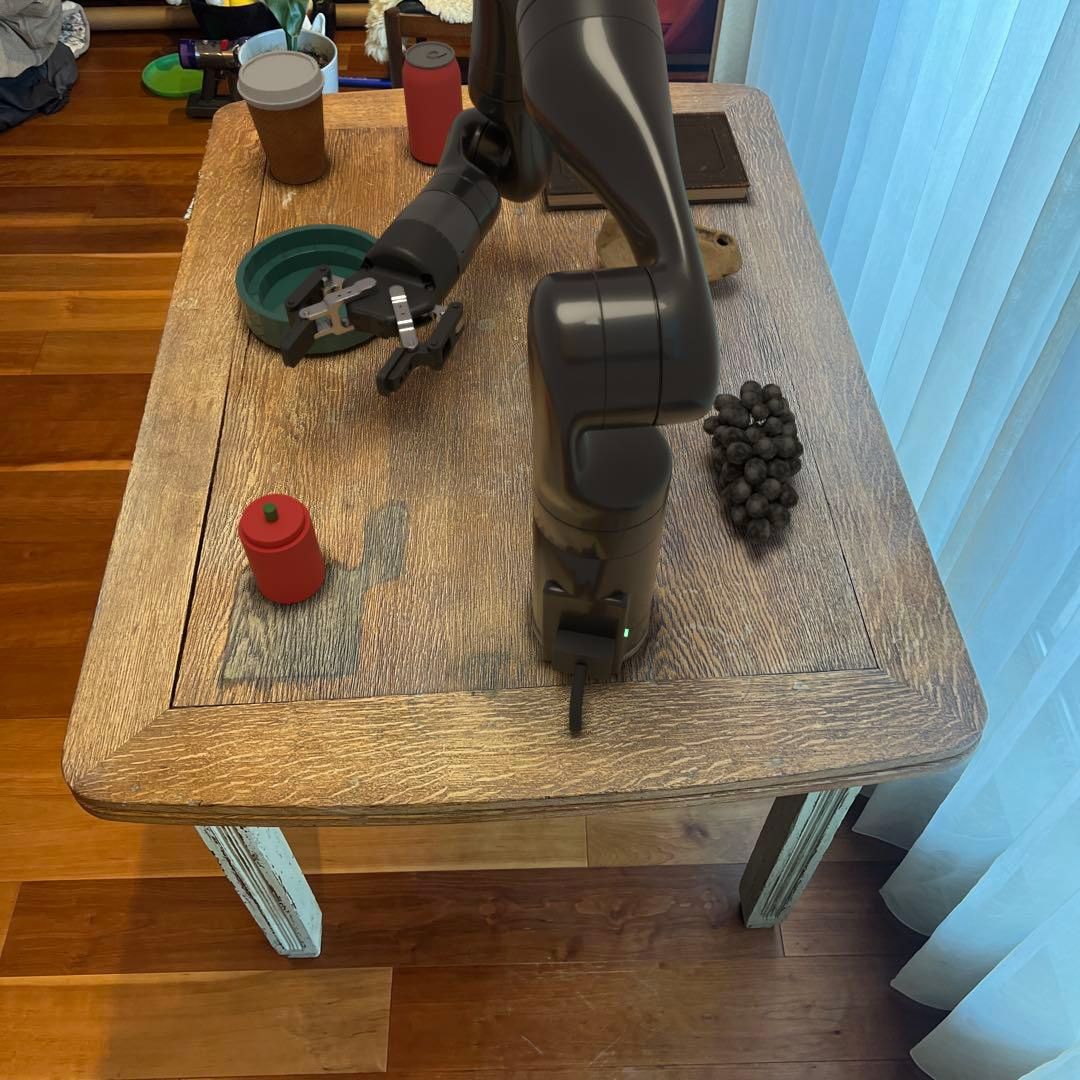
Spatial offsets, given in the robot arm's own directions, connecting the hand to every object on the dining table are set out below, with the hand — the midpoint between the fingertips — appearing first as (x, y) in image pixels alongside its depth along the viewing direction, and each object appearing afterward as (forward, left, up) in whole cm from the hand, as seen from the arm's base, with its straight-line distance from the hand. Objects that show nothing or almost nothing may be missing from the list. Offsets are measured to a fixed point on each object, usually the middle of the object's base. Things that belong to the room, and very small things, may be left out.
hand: (333, 373), depth 81 cm
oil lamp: (+34, -23, -13) cm, 43 cm away
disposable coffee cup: (+45, +22, -13) cm, 52 cm away
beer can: (+52, +7, -13) cm, 54 cm away
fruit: (+6, -34, -13) cm, 37 cm away
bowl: (+22, +11, -13) cm, 28 cm away
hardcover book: (+54, -17, -13) cm, 58 cm away
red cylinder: (-11, +2, -13) cm, 17 cm away
